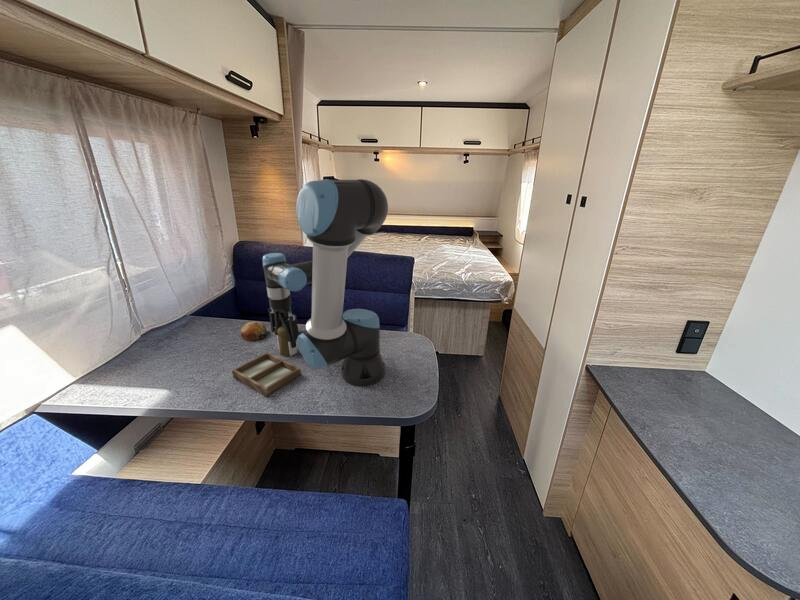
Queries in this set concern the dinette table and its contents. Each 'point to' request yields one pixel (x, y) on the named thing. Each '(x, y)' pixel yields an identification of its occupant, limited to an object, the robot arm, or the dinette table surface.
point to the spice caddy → (266, 373)
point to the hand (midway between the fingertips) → (287, 351)
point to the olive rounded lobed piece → (283, 341)
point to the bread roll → (253, 331)
